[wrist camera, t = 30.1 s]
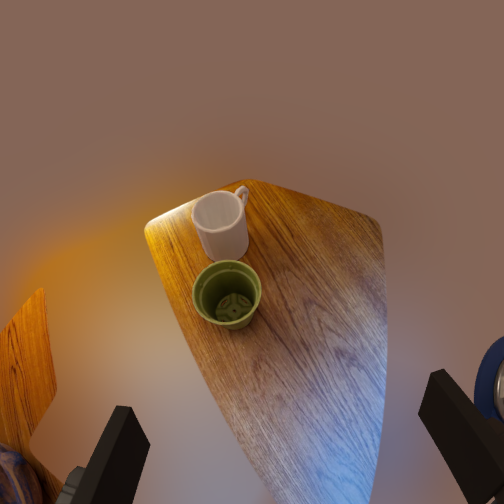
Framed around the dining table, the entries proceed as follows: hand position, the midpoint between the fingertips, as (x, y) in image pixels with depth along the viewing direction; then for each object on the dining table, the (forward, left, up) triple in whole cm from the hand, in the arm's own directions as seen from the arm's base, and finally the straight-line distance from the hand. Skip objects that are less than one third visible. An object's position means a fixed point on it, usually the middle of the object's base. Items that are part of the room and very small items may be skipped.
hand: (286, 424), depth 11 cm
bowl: (+26, +48, -32) cm, 63 cm away
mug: (+23, -20, -32) cm, 44 cm away
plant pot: (+15, -9, -32) cm, 36 cm away
